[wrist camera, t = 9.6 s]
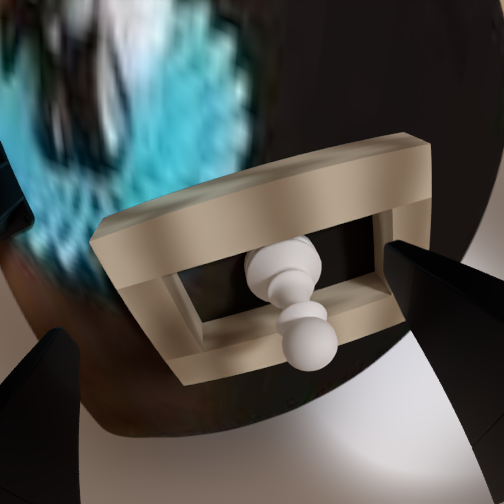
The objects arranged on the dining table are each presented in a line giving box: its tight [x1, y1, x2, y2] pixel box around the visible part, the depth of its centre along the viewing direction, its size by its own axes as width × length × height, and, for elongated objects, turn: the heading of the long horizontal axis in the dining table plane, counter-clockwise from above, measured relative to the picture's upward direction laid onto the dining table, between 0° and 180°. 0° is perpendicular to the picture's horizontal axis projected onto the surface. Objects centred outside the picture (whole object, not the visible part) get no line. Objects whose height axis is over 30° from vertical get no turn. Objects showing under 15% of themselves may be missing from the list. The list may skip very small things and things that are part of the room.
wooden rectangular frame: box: [89, 132, 431, 386], centre depth 20 cm, size 20×14×3 cm
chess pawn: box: [244, 235, 338, 371], centre depth 18 cm, size 5×5×9 cm
